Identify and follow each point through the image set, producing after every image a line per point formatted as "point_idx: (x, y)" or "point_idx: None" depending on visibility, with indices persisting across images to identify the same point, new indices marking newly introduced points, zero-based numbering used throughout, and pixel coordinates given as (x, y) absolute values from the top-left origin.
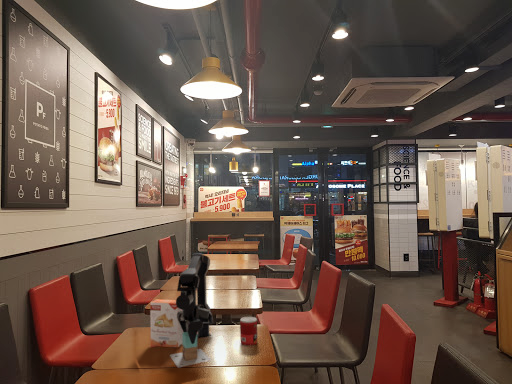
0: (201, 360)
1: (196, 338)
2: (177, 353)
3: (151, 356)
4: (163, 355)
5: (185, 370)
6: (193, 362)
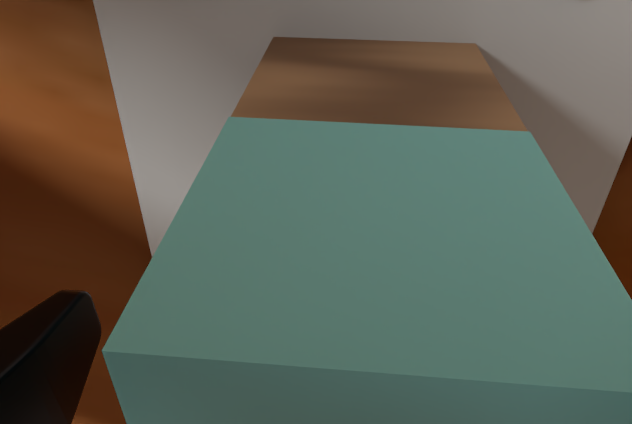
0: (603, 11)
1: (596, 282)
2: (148, 220)
3: (88, 378)
4: (96, 305)
5: (619, 249)
6: (570, 145)
